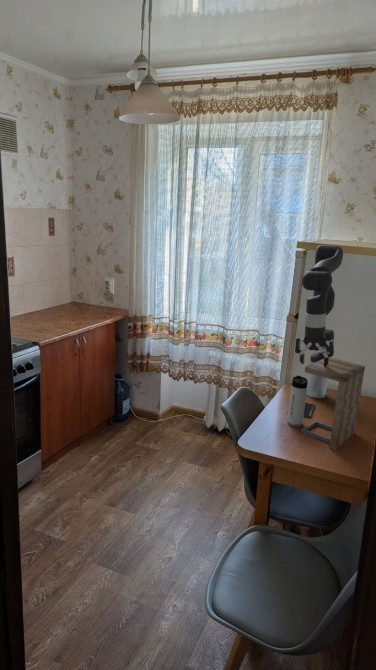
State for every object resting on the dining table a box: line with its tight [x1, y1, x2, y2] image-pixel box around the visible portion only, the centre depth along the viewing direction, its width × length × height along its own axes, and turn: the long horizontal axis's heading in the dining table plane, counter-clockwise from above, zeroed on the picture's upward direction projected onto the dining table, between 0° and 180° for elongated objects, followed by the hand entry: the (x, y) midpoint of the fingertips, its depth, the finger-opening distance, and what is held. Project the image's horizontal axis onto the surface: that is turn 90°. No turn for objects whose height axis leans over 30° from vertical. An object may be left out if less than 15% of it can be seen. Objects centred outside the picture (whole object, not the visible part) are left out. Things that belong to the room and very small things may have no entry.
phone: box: [303, 402, 316, 419], centre depth 206 cm, size 8×1×15 cm
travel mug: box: [287, 375, 308, 428], centre depth 189 cm, size 6×7×20 cm
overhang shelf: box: [304, 357, 366, 451], centre depth 180 cm, size 20×16×28 cm
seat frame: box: [300, 420, 333, 444], centre depth 184 cm, size 12×12×2 cm
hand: (313, 364), depth 178 cm, fingers open, 8 cm apart
